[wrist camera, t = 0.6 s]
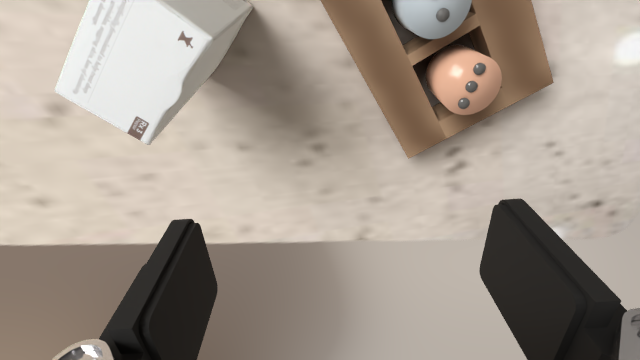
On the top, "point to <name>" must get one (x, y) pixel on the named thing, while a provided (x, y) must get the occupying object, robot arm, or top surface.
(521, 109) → the top surface
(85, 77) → the skincare box
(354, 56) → the wooden three-slot caddy
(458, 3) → the two-pip button
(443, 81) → the three-pip button
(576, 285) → the robot arm
